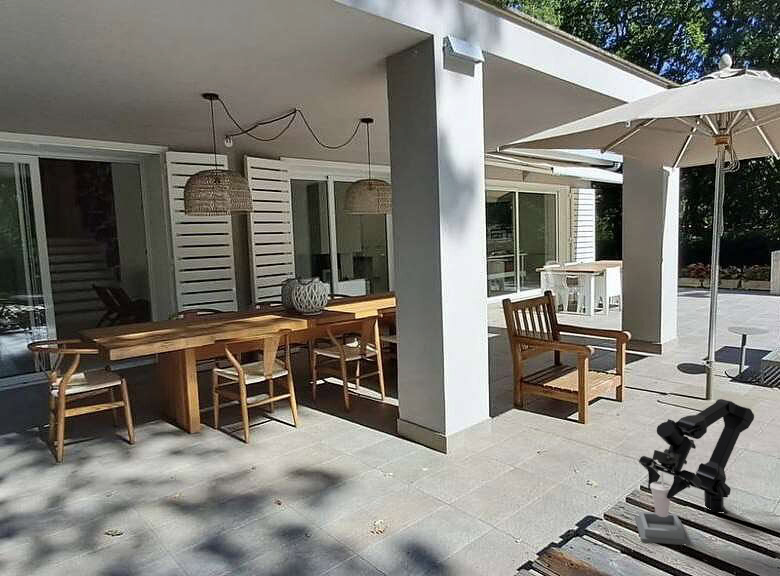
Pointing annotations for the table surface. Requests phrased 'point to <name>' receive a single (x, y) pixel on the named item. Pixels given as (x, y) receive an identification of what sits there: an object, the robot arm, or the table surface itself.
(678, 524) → the holder
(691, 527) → the table surface
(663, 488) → the smoothie
